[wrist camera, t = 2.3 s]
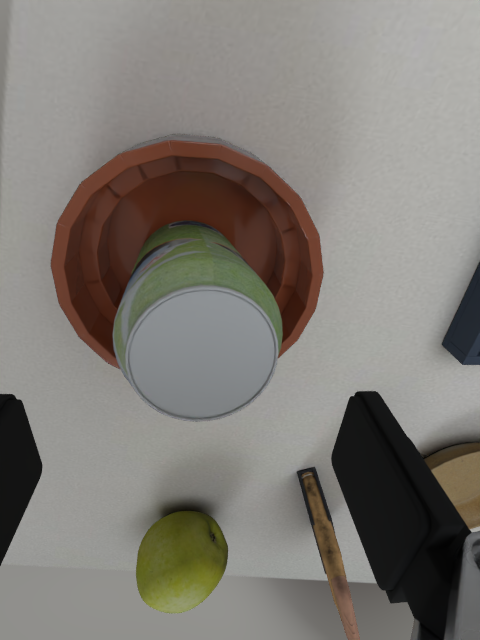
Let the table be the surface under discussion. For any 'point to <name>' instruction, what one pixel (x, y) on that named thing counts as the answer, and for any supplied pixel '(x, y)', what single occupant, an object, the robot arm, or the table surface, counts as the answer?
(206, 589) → the apple
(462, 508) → the plant saucer
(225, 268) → the beverage can
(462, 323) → the tray
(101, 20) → the table surface
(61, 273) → the bowl
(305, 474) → the ammunition clip
